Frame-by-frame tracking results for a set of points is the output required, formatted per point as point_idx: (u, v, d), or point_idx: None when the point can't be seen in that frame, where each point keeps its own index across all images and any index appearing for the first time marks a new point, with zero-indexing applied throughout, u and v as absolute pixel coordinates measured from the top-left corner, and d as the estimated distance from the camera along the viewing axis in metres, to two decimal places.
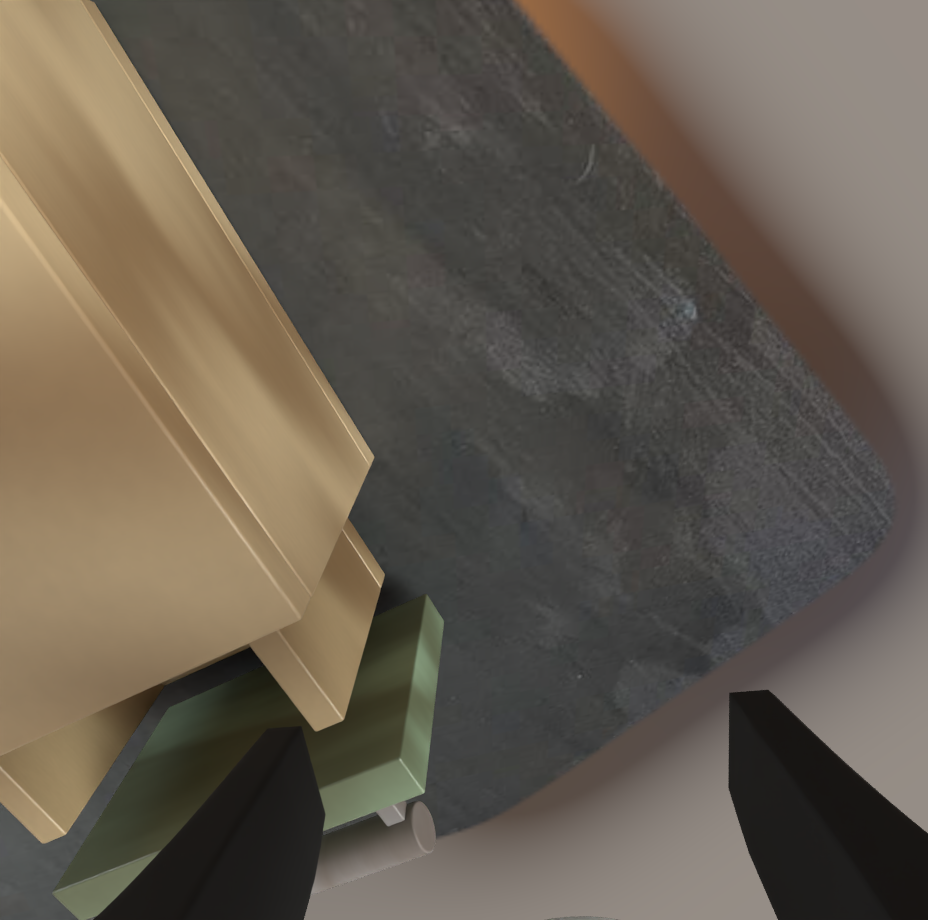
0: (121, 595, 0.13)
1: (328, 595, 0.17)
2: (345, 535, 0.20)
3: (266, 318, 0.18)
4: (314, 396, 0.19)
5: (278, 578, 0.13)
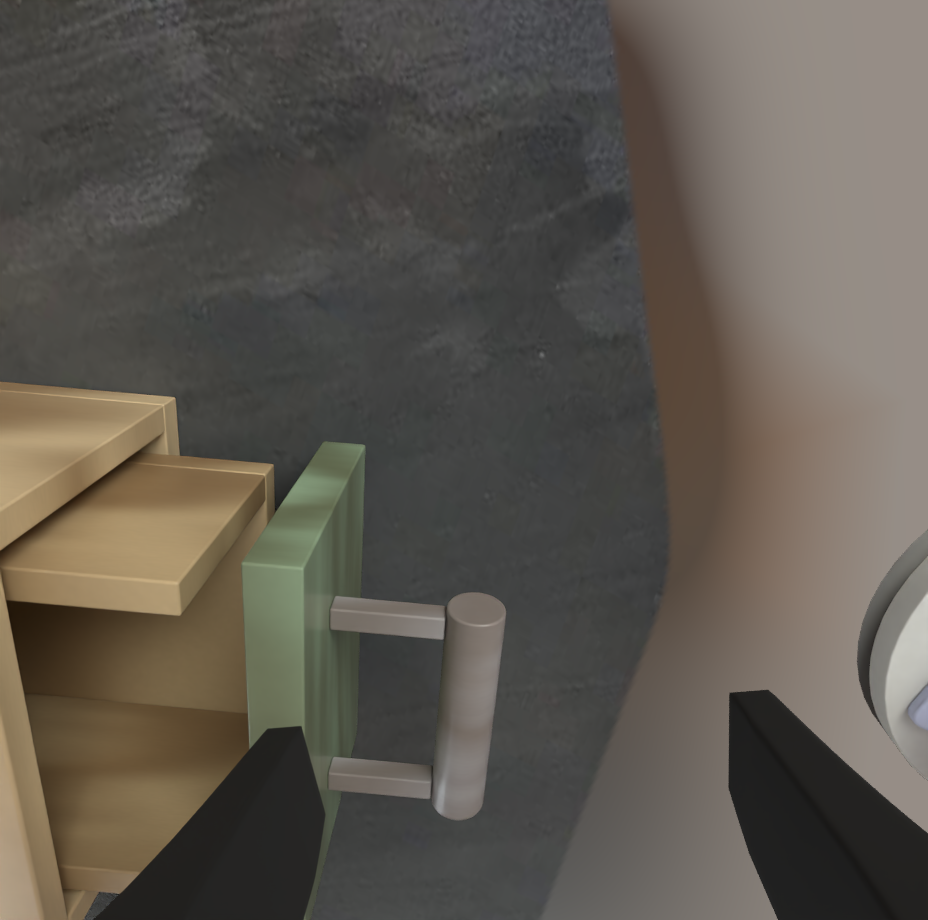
0: None
1: (148, 515, 0.16)
2: (190, 468, 0.18)
3: None
4: (47, 405, 0.18)
5: None
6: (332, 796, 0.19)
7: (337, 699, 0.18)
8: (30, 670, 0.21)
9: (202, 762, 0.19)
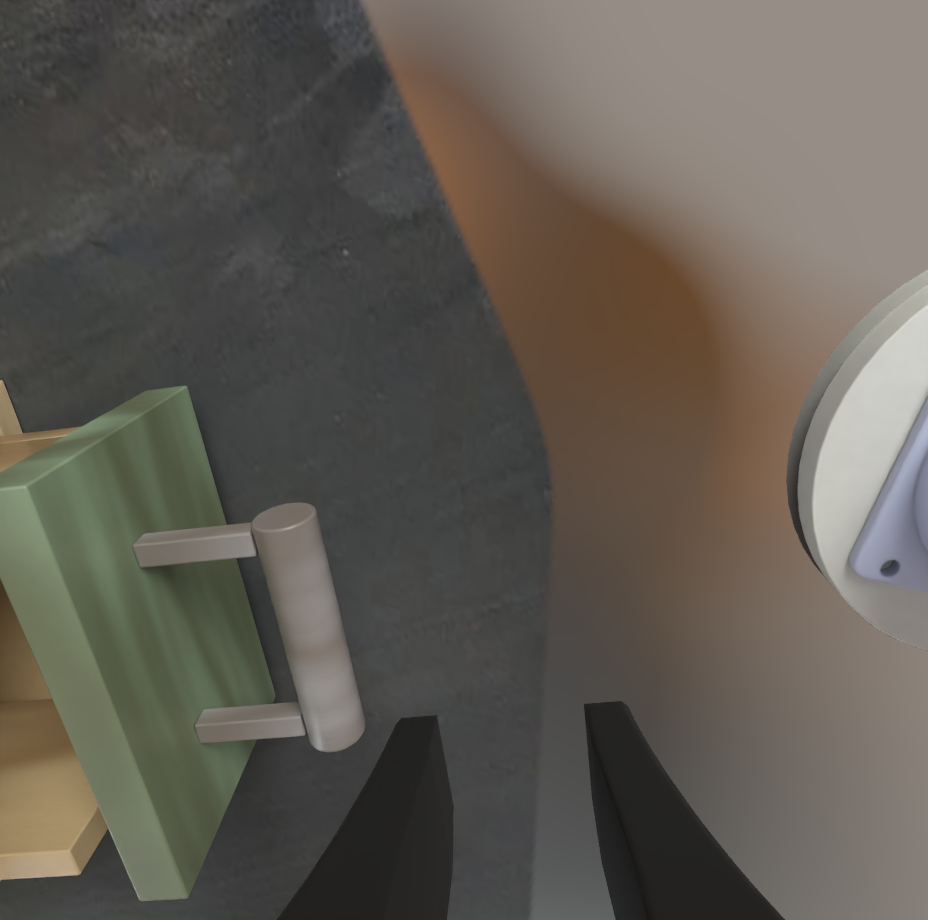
0: None
1: None
2: (12, 443, 0.18)
3: None
4: None
5: None
6: (220, 753, 0.18)
7: (196, 649, 0.17)
8: None
9: None
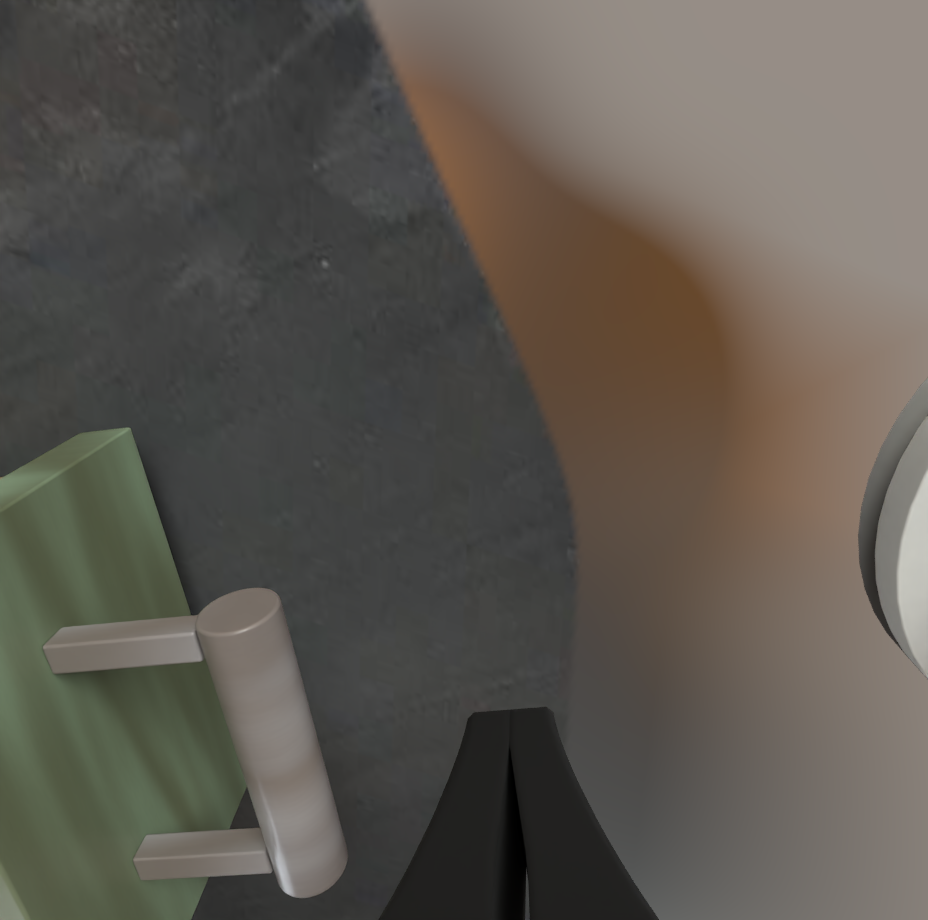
0: None
1: None
2: None
3: None
4: None
5: None
6: (169, 883, 0.14)
7: (137, 759, 0.14)
8: None
9: None
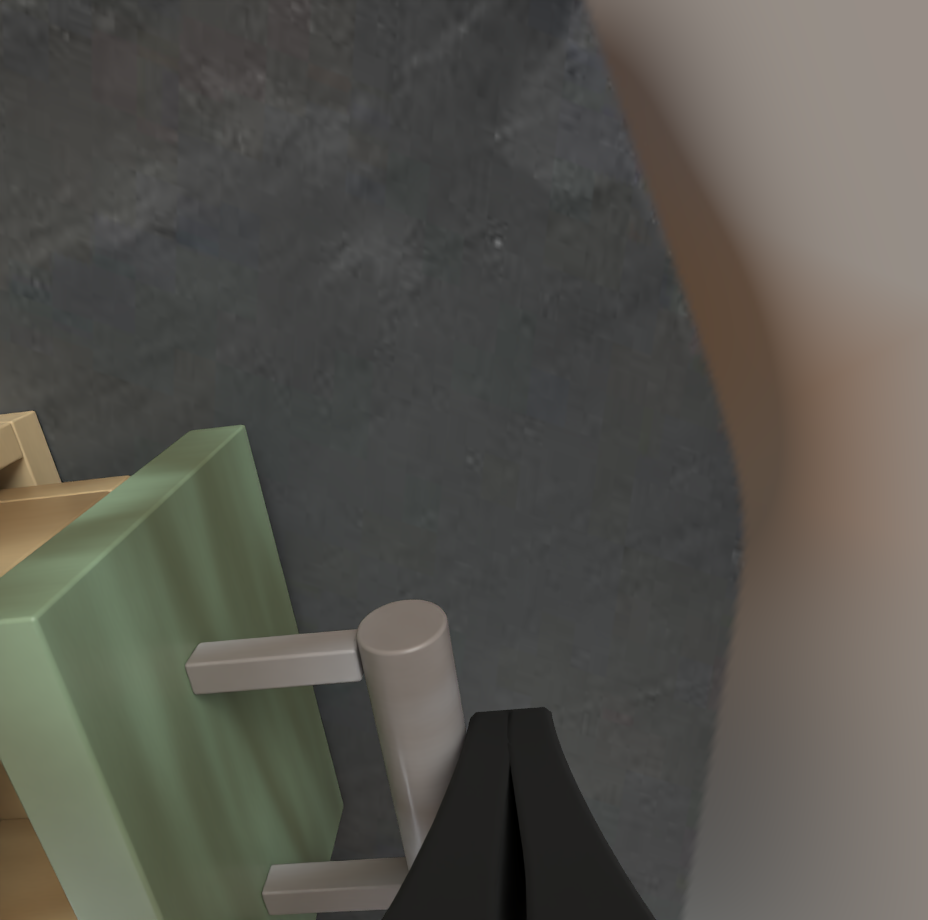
0: None
1: None
2: (13, 502, 0.13)
3: None
4: None
5: None
6: (290, 915, 0.13)
7: (261, 783, 0.13)
8: None
9: None
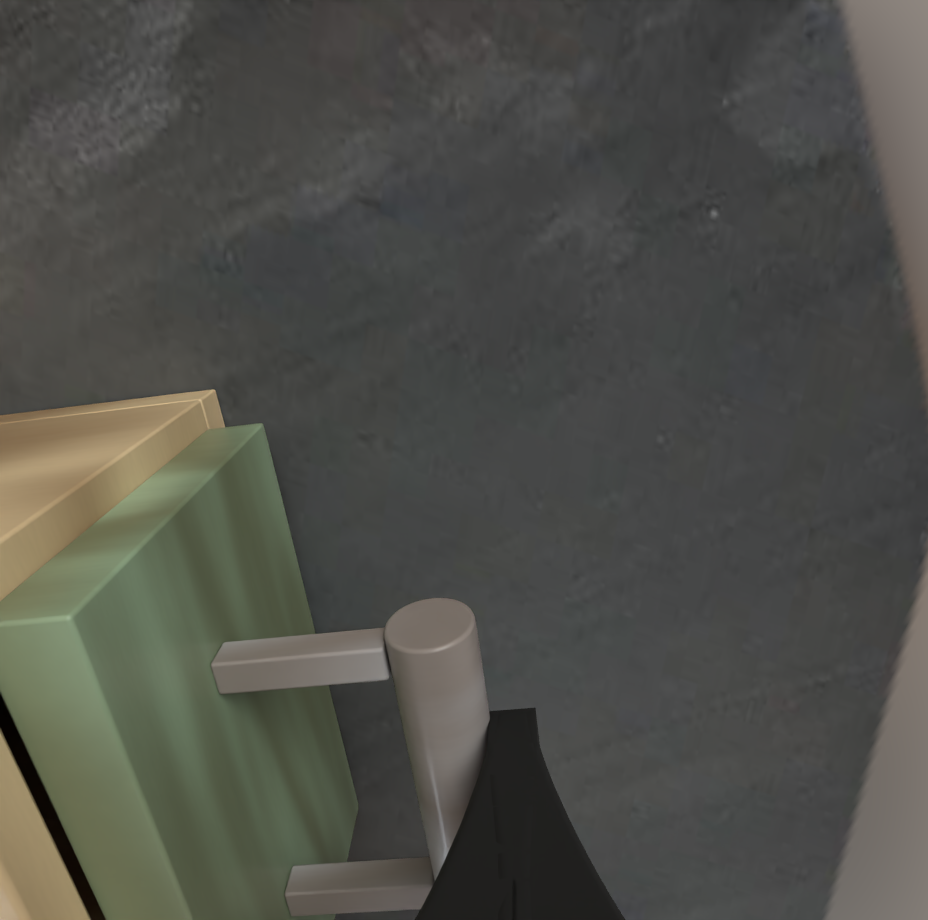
0: None
1: None
2: None
3: None
4: (47, 428, 0.13)
5: None
6: (310, 917, 0.13)
7: (282, 784, 0.13)
8: None
9: None
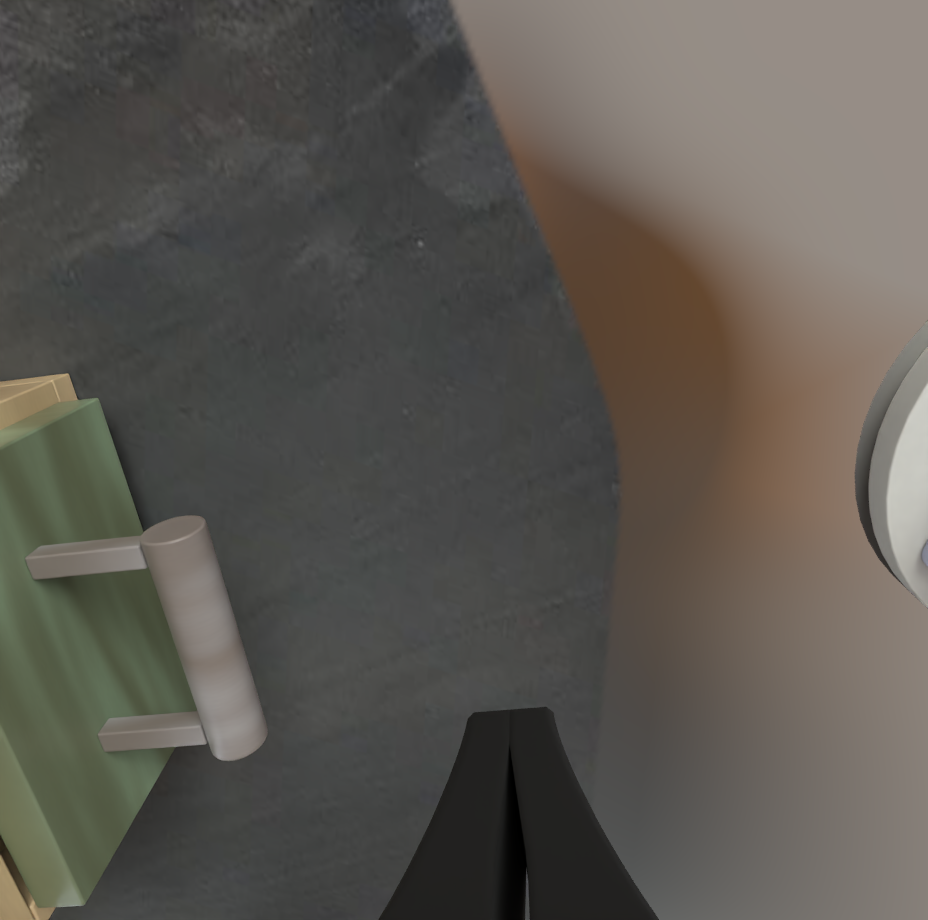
0: None
1: None
2: None
3: None
4: None
5: None
6: (129, 761, 0.18)
7: (102, 658, 0.17)
8: None
9: None
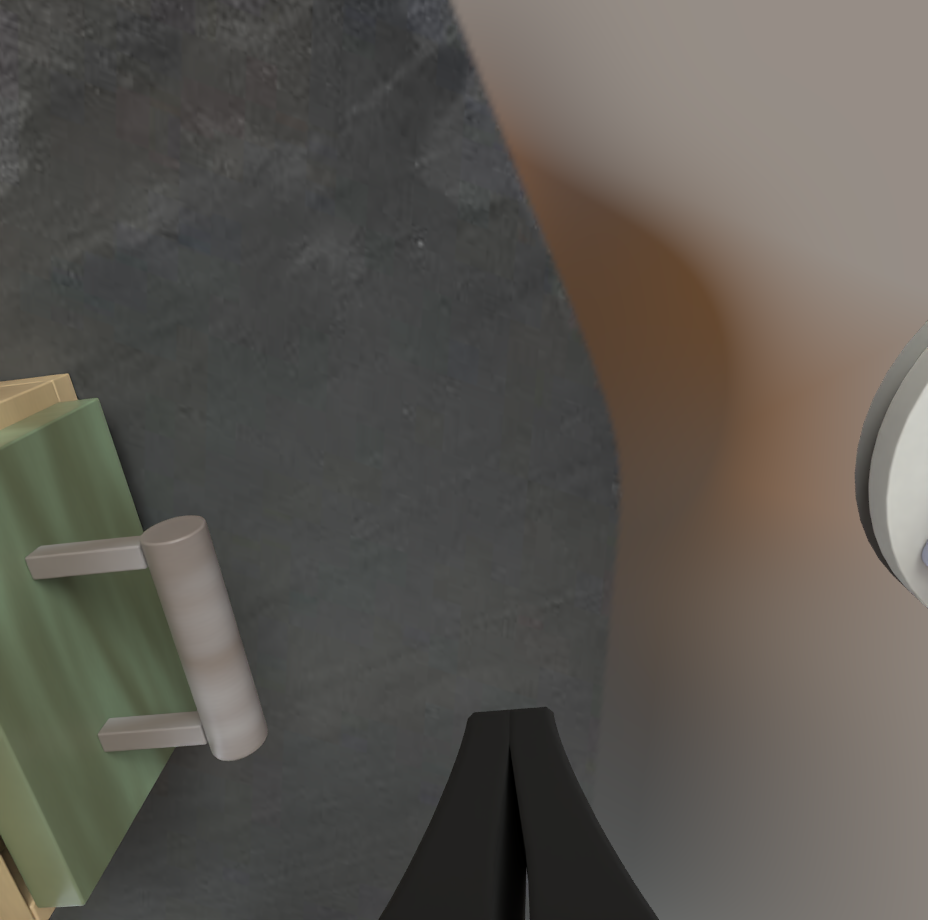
0: None
1: None
2: None
3: None
4: None
5: None
6: (129, 761, 0.18)
7: (102, 658, 0.17)
8: None
9: None
